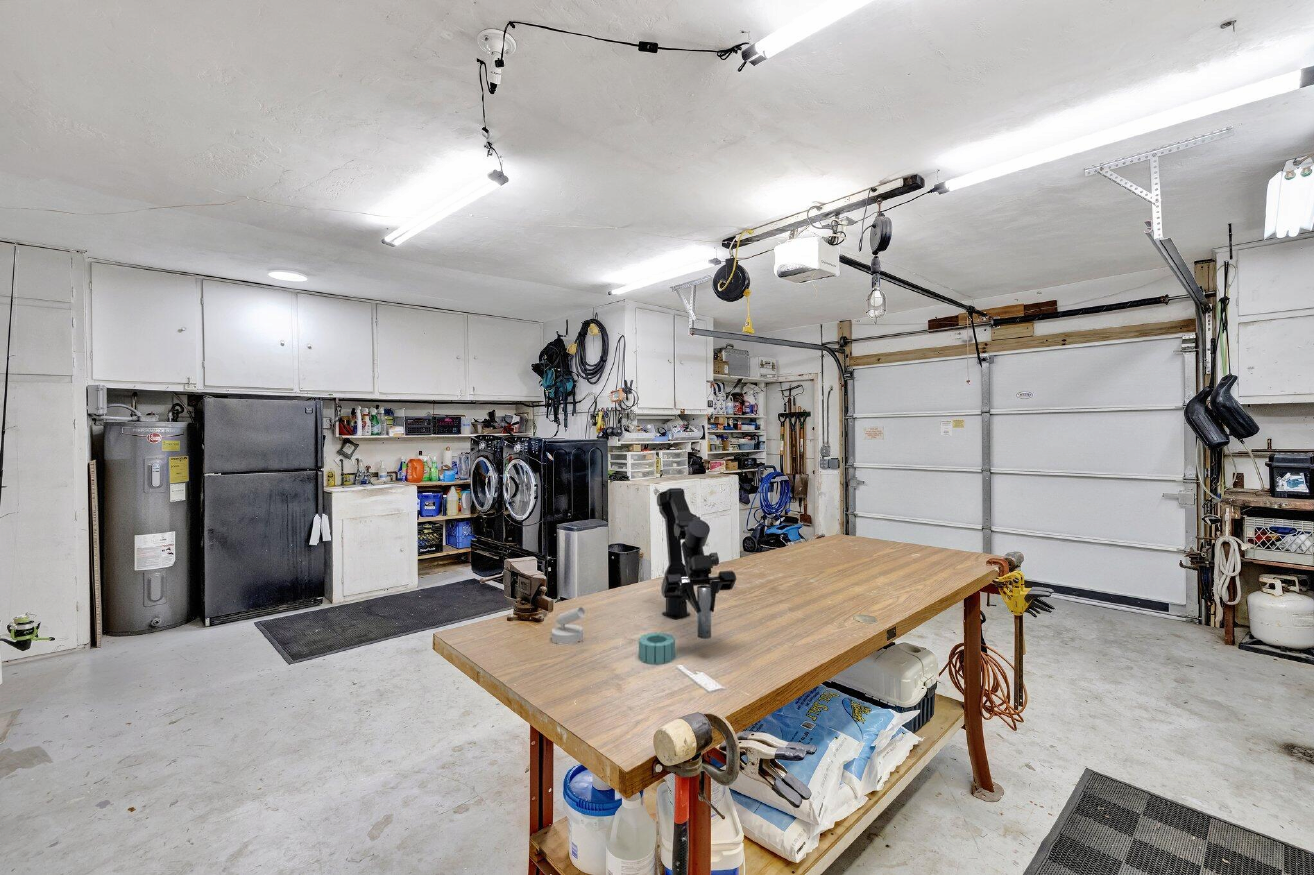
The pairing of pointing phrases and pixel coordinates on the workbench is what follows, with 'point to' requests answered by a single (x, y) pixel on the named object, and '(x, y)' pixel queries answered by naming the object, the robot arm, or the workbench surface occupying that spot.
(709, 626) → the shiny metal cylinder
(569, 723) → the workbench surface
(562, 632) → the wall hook
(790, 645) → the workbench surface
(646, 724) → the workbench surface
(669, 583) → the robot arm
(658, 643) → the teal notched ring
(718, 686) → the butcher knife
